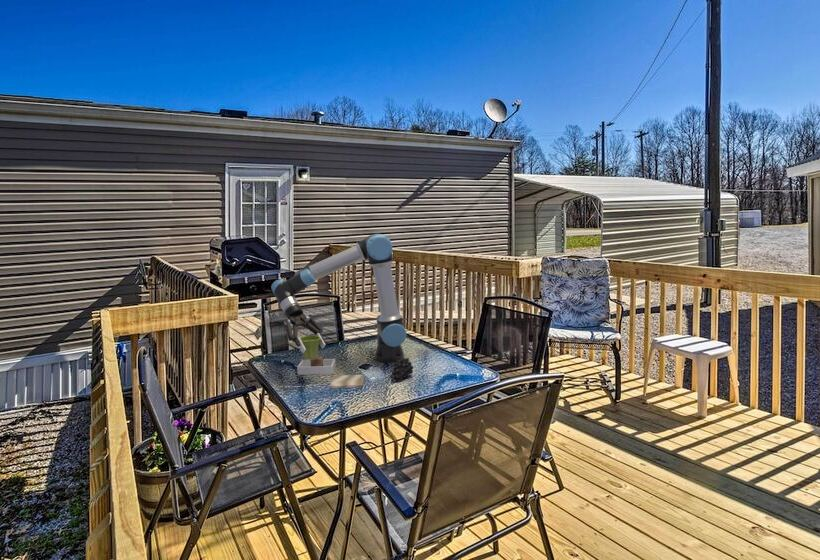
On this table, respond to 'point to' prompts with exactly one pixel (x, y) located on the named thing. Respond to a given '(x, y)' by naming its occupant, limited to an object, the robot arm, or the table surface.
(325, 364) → the grey tray
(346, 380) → the ash board
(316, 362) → the walnut block
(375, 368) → the table surface
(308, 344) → the plant pot
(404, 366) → the fruit
